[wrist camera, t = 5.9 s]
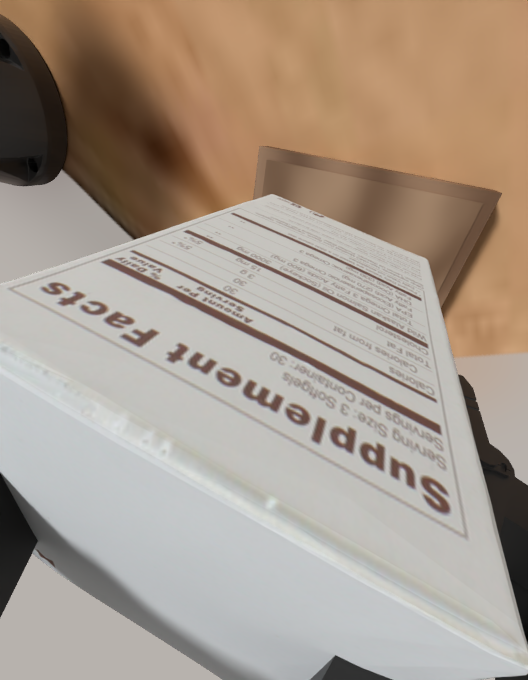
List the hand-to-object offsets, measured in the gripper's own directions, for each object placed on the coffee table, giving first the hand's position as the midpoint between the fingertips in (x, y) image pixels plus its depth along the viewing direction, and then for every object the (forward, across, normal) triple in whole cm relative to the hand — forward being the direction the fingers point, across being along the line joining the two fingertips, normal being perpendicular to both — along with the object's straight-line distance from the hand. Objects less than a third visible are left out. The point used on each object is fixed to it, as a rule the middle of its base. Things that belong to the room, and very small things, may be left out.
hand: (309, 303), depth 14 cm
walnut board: (+17, 0, -1) cm, 17 cm away
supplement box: (+2, 0, 0) cm, 2 cm away
